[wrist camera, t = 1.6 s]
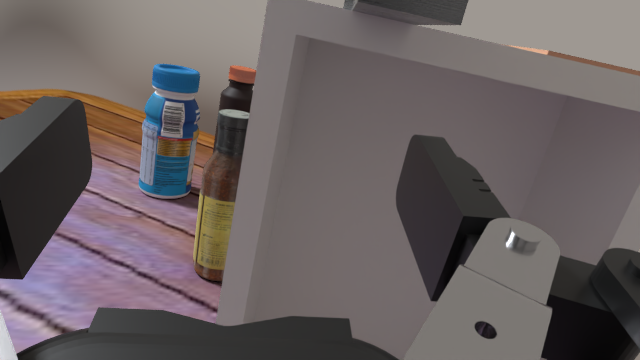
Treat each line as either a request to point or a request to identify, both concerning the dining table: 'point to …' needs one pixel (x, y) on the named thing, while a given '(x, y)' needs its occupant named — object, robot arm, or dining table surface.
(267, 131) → the tall cream box
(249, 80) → the black water bottle
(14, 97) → the dining table surface
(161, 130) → the beverage bottle
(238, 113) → the sauce bottle
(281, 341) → the robot arm
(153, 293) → the dining table surface
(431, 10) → the grey rectangular bar
